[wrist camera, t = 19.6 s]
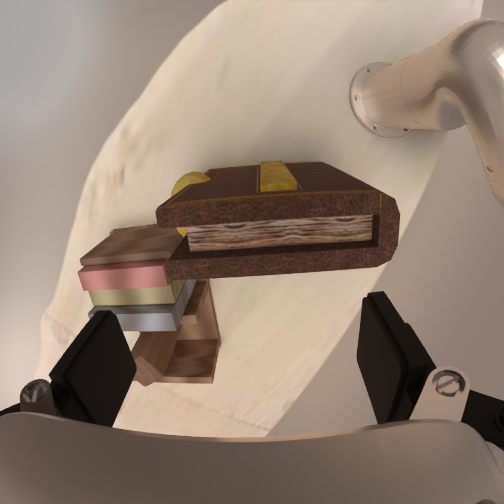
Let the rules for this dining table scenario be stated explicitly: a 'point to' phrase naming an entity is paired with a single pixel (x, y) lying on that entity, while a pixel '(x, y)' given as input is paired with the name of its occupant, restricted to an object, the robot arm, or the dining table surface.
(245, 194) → the book
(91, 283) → the book rack
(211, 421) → the dining table surface
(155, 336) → the wooden block
